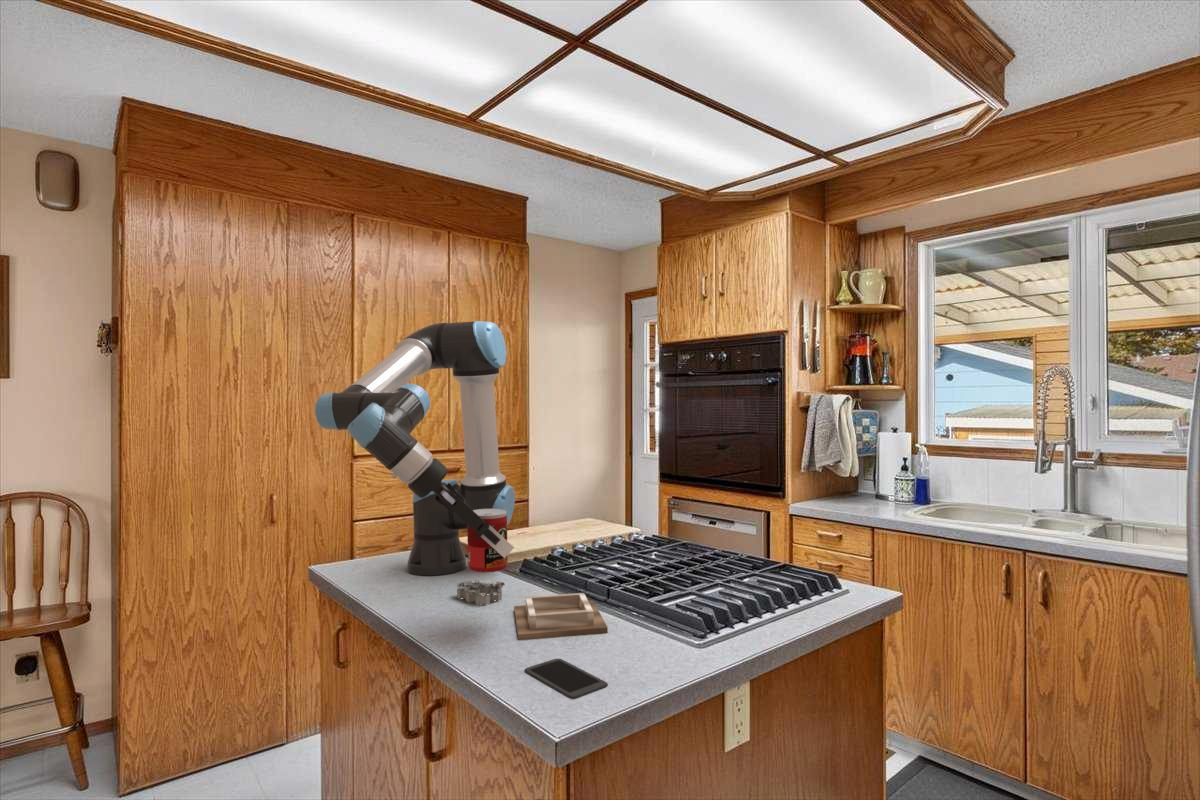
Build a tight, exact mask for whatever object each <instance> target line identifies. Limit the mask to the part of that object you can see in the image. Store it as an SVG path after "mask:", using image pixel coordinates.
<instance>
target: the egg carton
mask: <svg viewBox="0 0 1200 800" xmlns="http://www.w3.org/2000/svg"><path fill="white" fill-rule="evenodd" d="M454 585H455V586H456V587H457V589H456V594H457V595H456V598H459V599H458V600H462V599H461V598H466V599H465V601H468V602H467V603H472V602H471V601H475V602H474V603H475V605H476V604H478V605H477V606H481V605H480V604H489V605H490V604H491V602H490V601H492V602H500V601H499V600H501V601H502V600H503V590H502V588H503V587H504V586H505V585H506V584H505V582H503V581H497V582H491V583H489V582H481V583H480V580H476V579H475V580H474V581H473V582H472V580H471V579H470V580H469V581H464V582H463V581H461V582H459V583H456V582H454ZM480 591H481V592H480ZM487 594H489V595H487ZM494 600H496V601H494Z"/></svg>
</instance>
